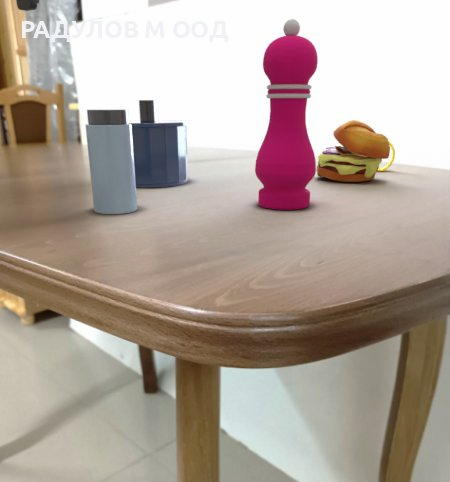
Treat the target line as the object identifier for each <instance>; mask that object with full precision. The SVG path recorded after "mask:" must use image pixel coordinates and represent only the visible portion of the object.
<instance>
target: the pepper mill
mask: <svg viewBox="0 0 450 482" xmlns="http://www.w3.org/2000/svg"><path fill="white" fill-rule="evenodd" d="M282 30H283V33H284V35H282V36H280V37H277V38H275V39H274V40H272V41H271V42H270V43H269V44H268V45H267V47H266V49H265V51H264V54H263V59H262V69H263V72H264V74H265V76H266V77H267V78H268V81H269V83H270V84H268V85H267V86H266V89H267V94H266V98H267V99H269V119H268V126H267V130H266V133H265V135H264V138H263V141H262V143H261V144H260V147H259V150H258V152H257V156H256V158H255V167H254V171H255V175H256V178H257V180H259V182H260V183H261V184H262V187H261V188H260V189H259V190H258V199H257V204H258V206H260V207H261V208H265V209H269V210H279V211H291V210H292V211H295V210H302V209H306V208H308V207H309V206H310V201H311V191H310V190H309V189H308V188H307V186H308V185H309V183H310V182H311V181H312V180H313V178H314V177H315V176H316V174H317V171H316V167H317V161H316V157H315V151H314V149H313V146H312V143H311V140H310V138H309V137H310V136H309V133H308V128H307V122H306V121H307V120H306V117H307V115H306V114H307V113H306V112H307V105H308V104H307V103H308V99H310V98H312V94H311V89H312V85H311V84H309V82H310V81H311V78H312V77H313V76H314V75H315V73H316V72H317V68H318V59H319V58H318V53H317V50H316V47H315V45H314V44H313V42H311V41H310V40H309V39H308V38H306V37H303V36H300V35H299V33H300V31H301V25H300V23H299V21H298V20H296V19H294V18H290V19H288V20H287V21H285V23H284V24H283V29H282Z"/></svg>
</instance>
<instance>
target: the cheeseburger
mask: <svg viewBox="0 0 450 482" xmlns="http://www.w3.org/2000/svg"><path fill="white" fill-rule="evenodd" d="M332 133H333V137H334V138H335V140H336V142H338V143H339V144H340V145H338V146H336V145H334V146H330V147H326V148H325V149H326V150H323V151H322V152H320V153H319V154H318V156H317V159H318V160H317V164H316V174H317V177H320V178H322V177H323V178H326V179H329V180H331V181H335V182H336V181H337V182H342V183H361V182H369V181H372V180H373V179H374V178H375V176H376V173H377V172H378V171H377V170H378V168H379V167H380V165H381V163H382V162H383V160H386V159H387V160H388V159H389V157H390V153H391V147H390V145H389V142H390V141H389V138H388V139H387V138H386V137H387V136H386V135H384V134H382V133H378V132H376V131H375V130H374V129H373V128H372V127H371V126H370V125H368V124H367V123H364V122H363V121H359V120H356V119H353V120H348V121H346V122H344V123H342V124H341V125H339V126H338V127H337V128H336V129H334V131H333V132H332ZM388 141H389V142H388ZM331 149H332V150H331Z"/></svg>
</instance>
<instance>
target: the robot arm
mask: <svg viewBox="0 0 450 482" xmlns="http://www.w3.org/2000/svg"><path fill="white" fill-rule="evenodd" d="M15 1H16V7H17V9H18V10H20V11H25V12H29V11H30V12H31V11H35V10H37V8H38V4H40V0H15Z"/></svg>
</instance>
